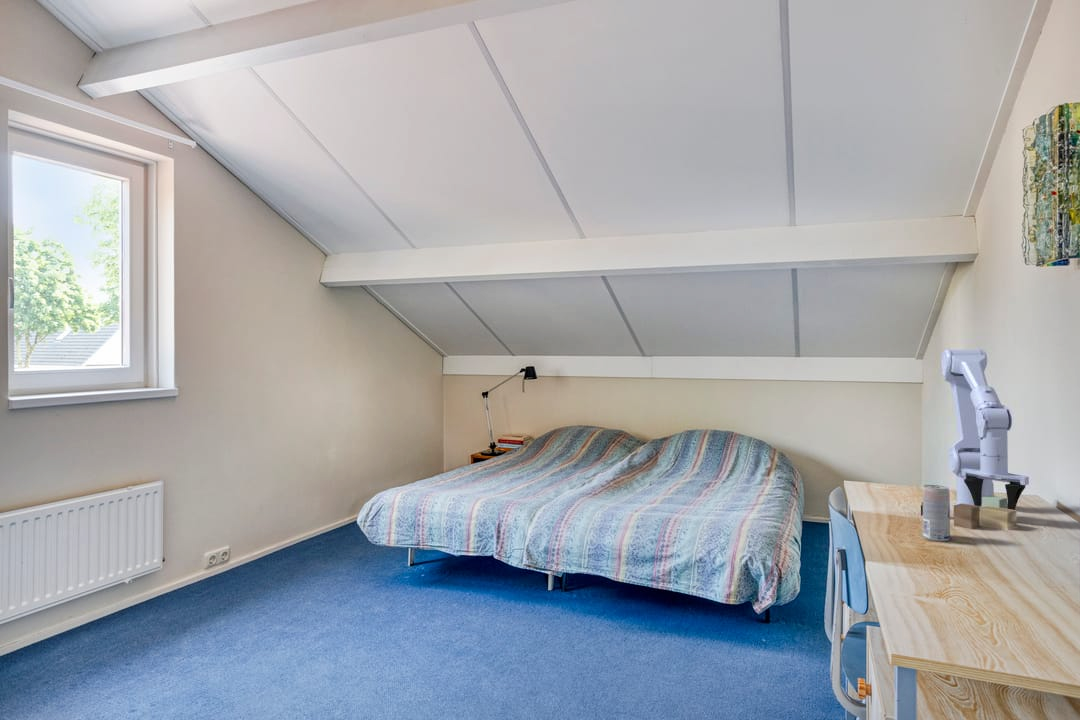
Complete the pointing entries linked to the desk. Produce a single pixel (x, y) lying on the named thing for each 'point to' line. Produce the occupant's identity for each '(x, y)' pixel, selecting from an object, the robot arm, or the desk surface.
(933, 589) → the desk surface
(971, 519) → the walnut block
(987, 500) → the sage block
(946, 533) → the energy drink
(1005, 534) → the desk surface
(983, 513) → the base block
